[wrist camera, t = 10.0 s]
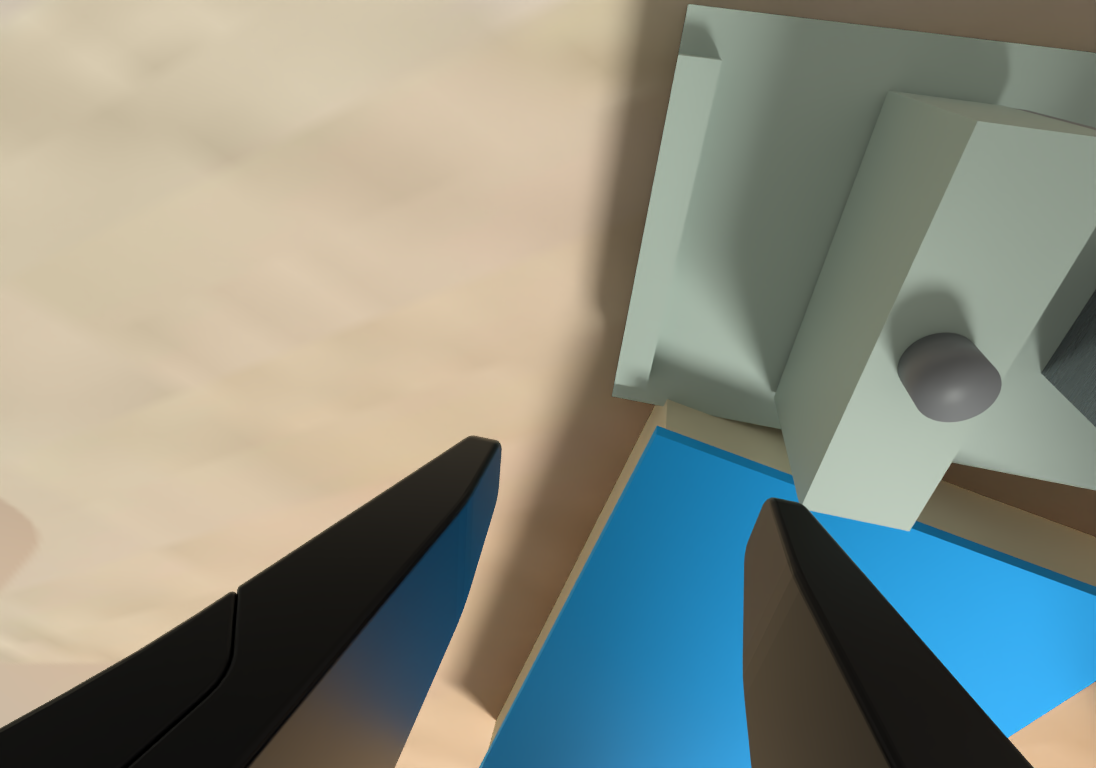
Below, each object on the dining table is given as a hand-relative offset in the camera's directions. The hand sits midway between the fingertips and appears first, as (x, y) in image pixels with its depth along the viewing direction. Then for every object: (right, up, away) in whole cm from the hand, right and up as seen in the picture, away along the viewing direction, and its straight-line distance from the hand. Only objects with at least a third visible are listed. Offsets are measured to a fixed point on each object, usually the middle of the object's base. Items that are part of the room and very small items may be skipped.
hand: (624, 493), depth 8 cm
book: (+7, -11, +20) cm, 24 cm away
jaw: (+8, +4, +8) cm, 12 cm away
